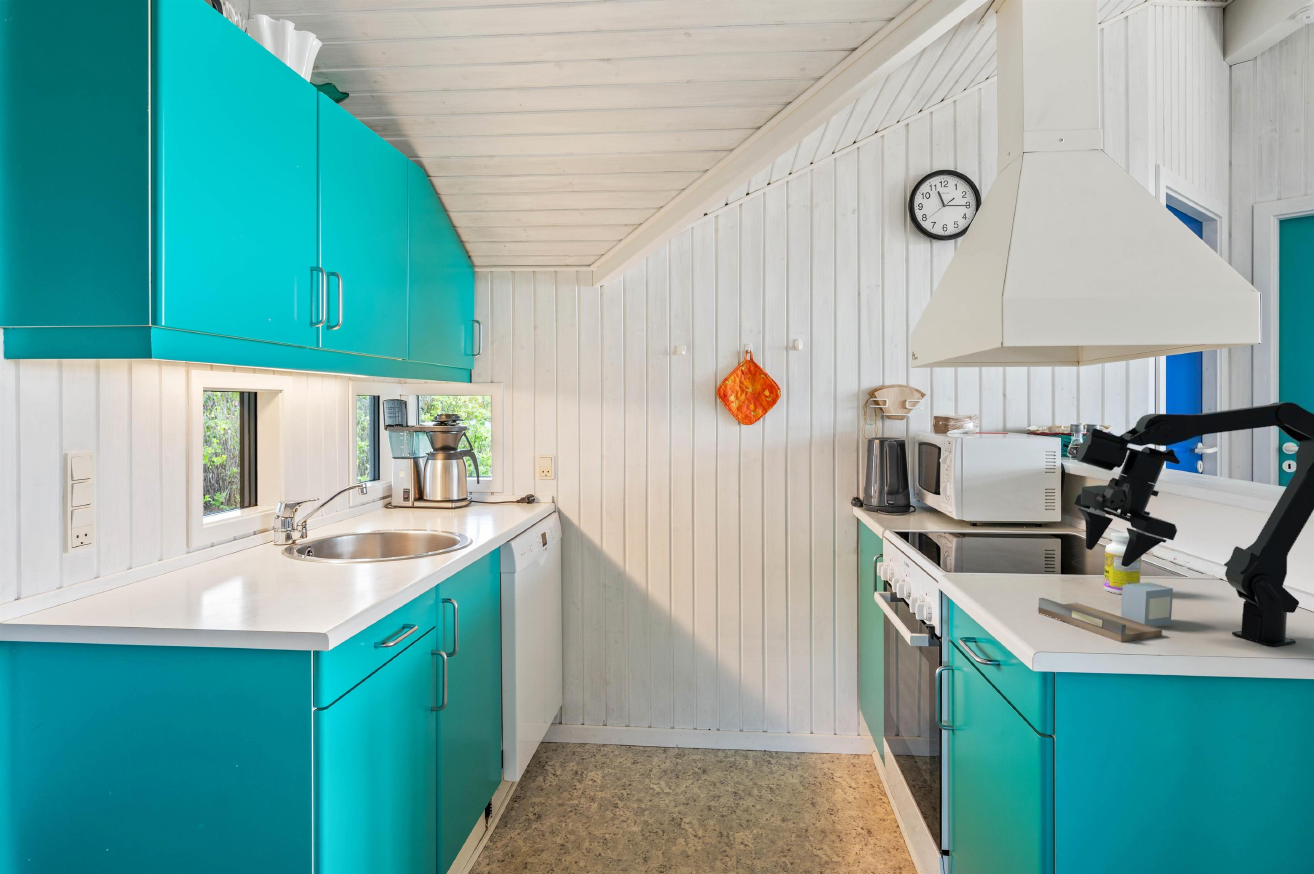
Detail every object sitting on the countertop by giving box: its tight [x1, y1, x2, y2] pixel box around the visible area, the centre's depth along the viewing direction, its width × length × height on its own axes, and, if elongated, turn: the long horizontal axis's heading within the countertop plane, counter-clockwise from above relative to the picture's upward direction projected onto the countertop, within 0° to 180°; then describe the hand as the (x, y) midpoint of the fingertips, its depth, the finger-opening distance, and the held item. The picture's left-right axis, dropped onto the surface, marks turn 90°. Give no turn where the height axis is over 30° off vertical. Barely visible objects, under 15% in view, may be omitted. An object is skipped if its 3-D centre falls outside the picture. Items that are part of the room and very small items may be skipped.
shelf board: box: [1037, 597, 1163, 643], centre depth 129 cm, size 10×17×3 cm, turn 19°
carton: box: [1120, 581, 1174, 628], centre depth 131 cm, size 5×7×7 cm
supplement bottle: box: [1103, 531, 1142, 596], centre depth 152 cm, size 7×7×13 cm
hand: (1105, 557), depth 130 cm, fingers open, 9 cm apart
